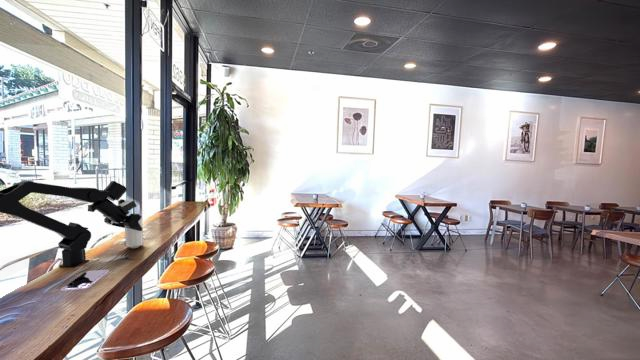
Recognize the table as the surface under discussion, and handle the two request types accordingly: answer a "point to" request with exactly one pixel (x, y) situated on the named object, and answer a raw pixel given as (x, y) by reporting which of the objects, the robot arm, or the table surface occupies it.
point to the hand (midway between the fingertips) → (137, 229)
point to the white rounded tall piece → (134, 236)
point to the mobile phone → (85, 280)
